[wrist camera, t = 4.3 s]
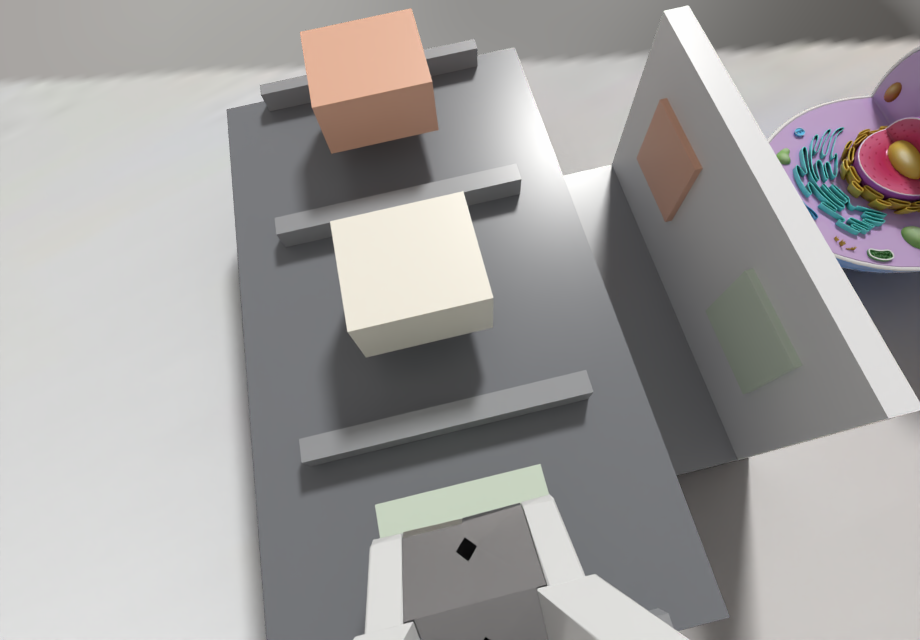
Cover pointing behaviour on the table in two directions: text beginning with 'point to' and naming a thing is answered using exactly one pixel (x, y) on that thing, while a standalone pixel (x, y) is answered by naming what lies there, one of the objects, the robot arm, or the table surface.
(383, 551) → the robot arm
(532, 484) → the sage key
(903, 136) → the cell model
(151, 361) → the table surface
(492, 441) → the key console
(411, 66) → the terracotta key
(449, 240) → the cream key
